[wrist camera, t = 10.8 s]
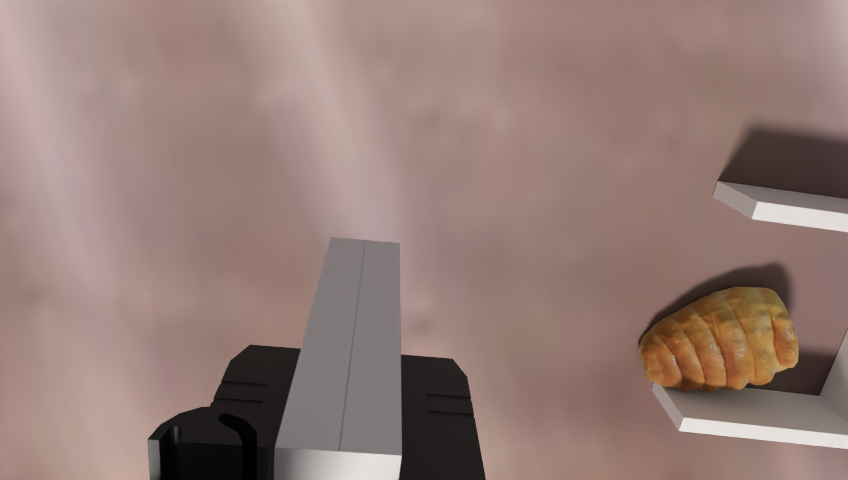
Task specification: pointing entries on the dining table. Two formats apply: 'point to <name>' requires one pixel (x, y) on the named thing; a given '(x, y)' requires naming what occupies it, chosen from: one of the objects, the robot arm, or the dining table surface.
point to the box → (765, 409)
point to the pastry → (721, 342)
